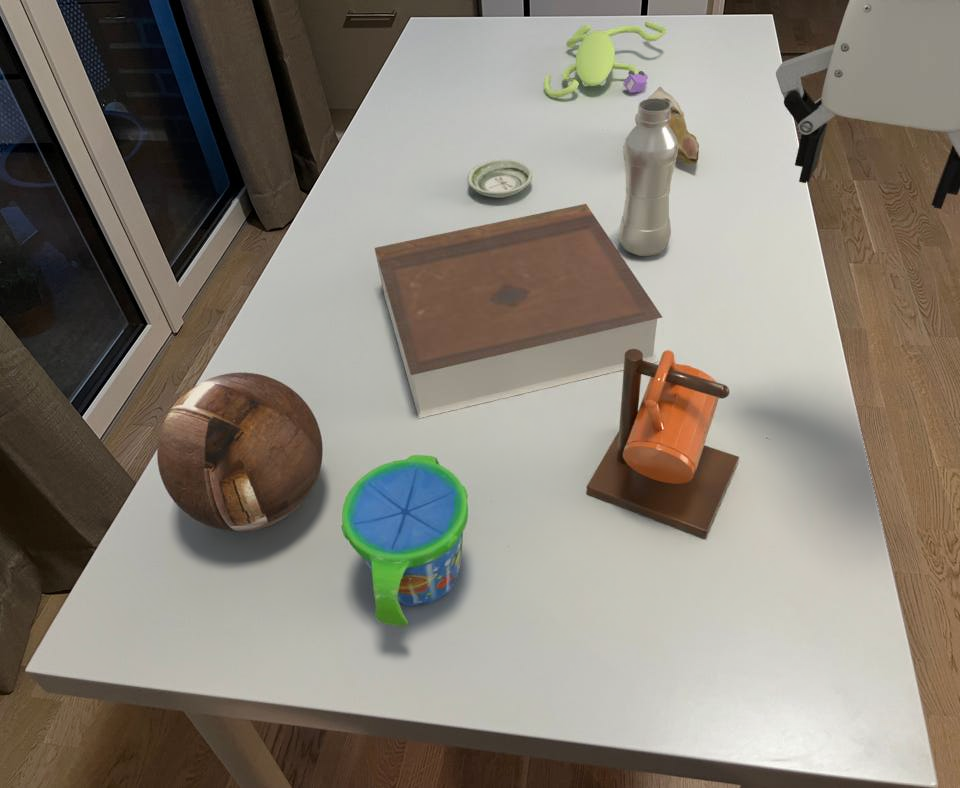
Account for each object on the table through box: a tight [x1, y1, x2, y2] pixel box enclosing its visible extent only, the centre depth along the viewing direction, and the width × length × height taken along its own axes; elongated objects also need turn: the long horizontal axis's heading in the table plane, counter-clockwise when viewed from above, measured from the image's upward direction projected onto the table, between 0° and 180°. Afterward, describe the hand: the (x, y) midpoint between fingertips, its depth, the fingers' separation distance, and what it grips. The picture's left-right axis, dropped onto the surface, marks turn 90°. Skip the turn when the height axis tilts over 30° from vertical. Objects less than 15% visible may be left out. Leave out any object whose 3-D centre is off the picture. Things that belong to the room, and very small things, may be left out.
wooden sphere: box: [156, 372, 324, 532], centre depth 76 cm, size 15×15×15 cm
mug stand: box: [586, 349, 740, 539], centre depth 73 cm, size 12×10×15 cm
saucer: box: [467, 158, 533, 199], centre depth 119 cm, size 10×10×2 cm
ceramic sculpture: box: [634, 86, 700, 165], centre depth 121 cm, size 11×9×15 cm
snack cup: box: [341, 454, 469, 627], centre depth 70 cm, size 16×10×10 cm
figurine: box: [543, 20, 667, 99], centre depth 144 cm, size 18×27×6 cm
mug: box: [623, 349, 720, 484], centre depth 72 cm, size 11×6×9 cm
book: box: [374, 203, 663, 419], centre depth 95 cm, size 24×28×6 cm
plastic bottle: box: [618, 98, 679, 257], centre depth 99 cm, size 6×7×20 cm
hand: (871, 186), depth 62 cm, fingers open, 9 cm apart
